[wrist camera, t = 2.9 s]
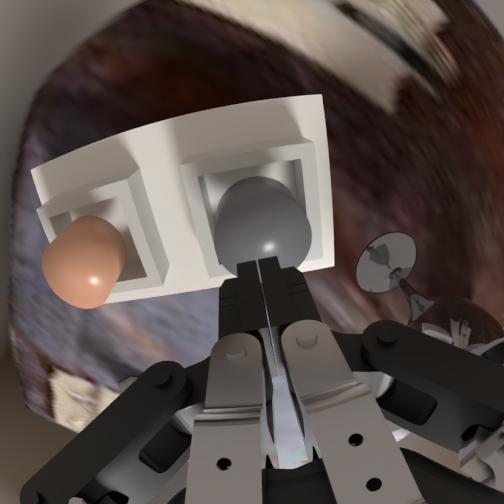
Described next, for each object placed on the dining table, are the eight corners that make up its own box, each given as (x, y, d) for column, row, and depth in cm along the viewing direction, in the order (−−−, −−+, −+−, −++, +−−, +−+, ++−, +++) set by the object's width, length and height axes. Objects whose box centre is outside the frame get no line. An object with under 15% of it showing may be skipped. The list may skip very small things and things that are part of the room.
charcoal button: (293, 170, 14) (307, 186, 12) (301, 244, 17) (314, 273, 14) (208, 184, 15) (203, 204, 12) (225, 257, 17) (225, 289, 14)
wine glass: (352, 305, 28) (410, 432, 15) (350, 238, 24) (442, 373, 11) (416, 286, 28) (489, 390, 15) (423, 220, 24) (530, 321, 11)
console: (305, 95, 18) (336, 93, 13) (319, 240, 24) (345, 285, 19) (57, 157, 19) (10, 180, 13) (103, 279, 25) (77, 325, 19)
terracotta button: (112, 207, 15) (90, 230, 12) (137, 273, 17) (123, 304, 14) (55, 224, 15) (30, 247, 12) (81, 283, 17) (64, 311, 14)
